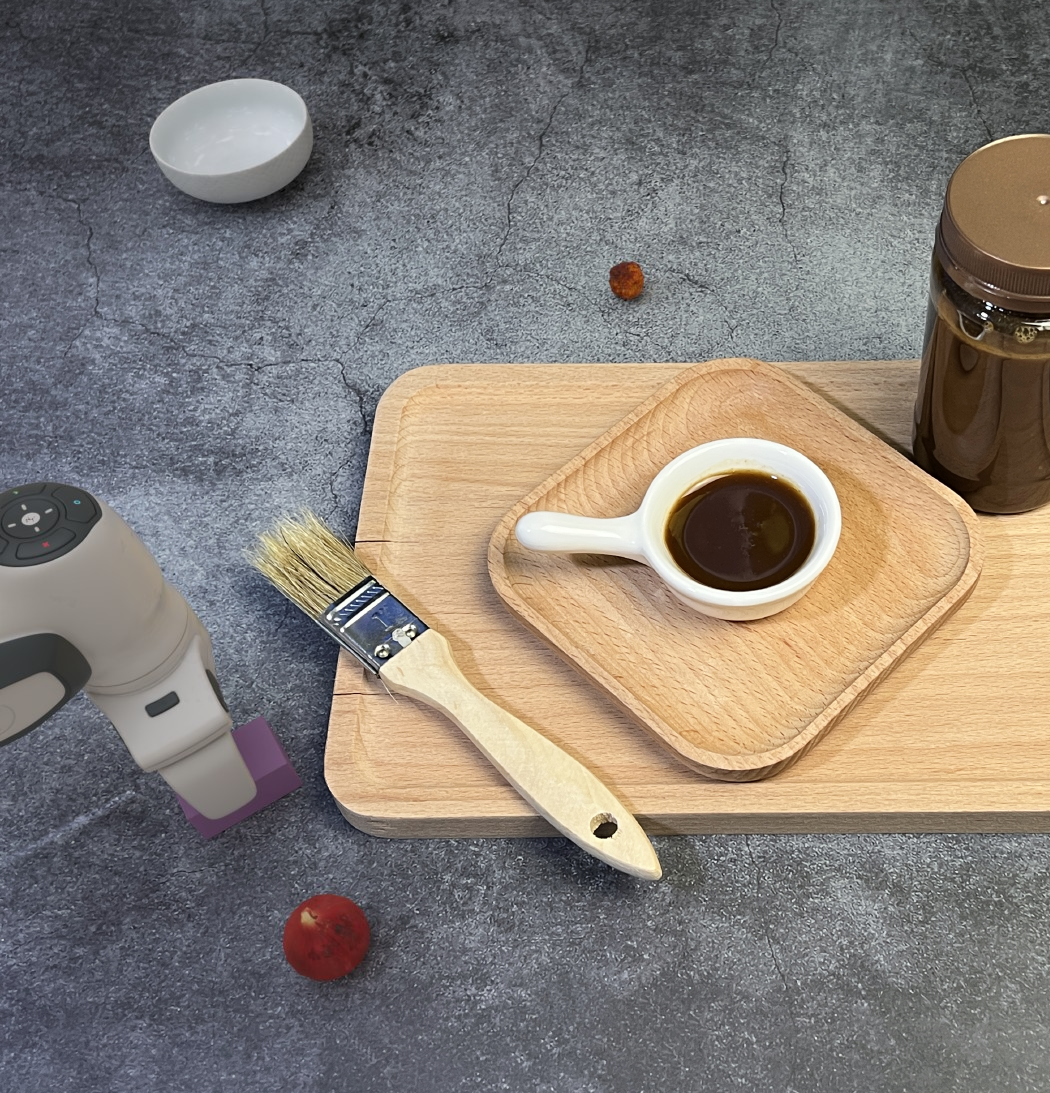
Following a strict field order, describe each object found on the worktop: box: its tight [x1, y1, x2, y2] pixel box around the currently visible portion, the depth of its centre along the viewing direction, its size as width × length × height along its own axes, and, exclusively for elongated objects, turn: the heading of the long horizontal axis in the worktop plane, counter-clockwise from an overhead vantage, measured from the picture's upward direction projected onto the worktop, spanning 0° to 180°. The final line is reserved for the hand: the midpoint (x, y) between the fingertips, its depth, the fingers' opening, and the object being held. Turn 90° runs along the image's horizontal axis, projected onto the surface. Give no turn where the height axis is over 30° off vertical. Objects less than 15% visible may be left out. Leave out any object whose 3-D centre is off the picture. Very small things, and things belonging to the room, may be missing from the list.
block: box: [173, 715, 304, 841], centre depth 100 cm, size 5×8×4 cm, turn 124°
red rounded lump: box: [282, 893, 371, 982], centre depth 91 cm, size 6×6×8 cm
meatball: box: [608, 261, 645, 300], centre depth 130 cm, size 4×4×4 cm
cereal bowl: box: [148, 78, 314, 204], centre depth 141 cm, size 17×17×7 cm
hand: (213, 739), depth 102 cm, fingers closed
